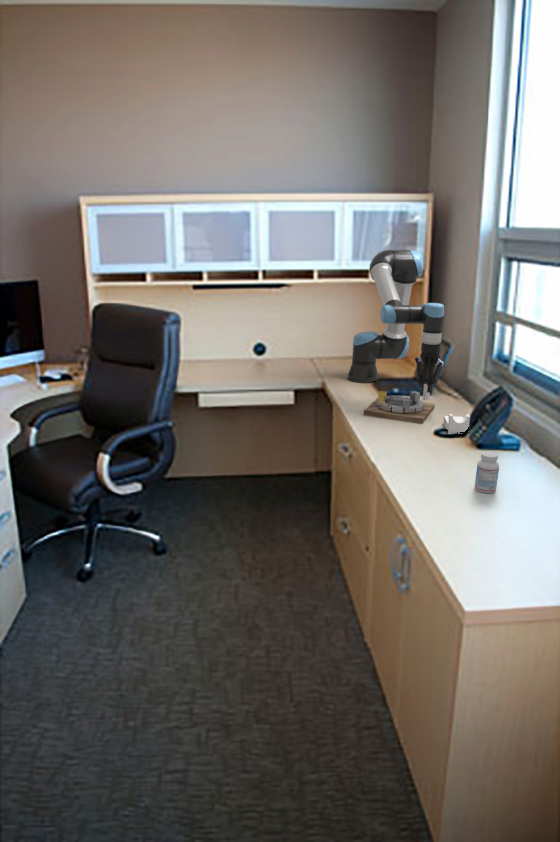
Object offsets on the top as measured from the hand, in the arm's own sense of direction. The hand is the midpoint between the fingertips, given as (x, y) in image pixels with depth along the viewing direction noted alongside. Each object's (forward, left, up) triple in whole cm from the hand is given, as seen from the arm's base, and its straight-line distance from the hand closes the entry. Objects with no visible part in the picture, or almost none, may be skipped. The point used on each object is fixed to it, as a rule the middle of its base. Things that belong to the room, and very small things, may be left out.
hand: (426, 399), depth 259 cm
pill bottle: (+72, +32, -6) cm, 79 cm away
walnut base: (+4, -10, -6) cm, 12 cm away
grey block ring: (+4, -10, -3) cm, 11 cm away
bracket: (+17, +15, -6) cm, 24 cm away
